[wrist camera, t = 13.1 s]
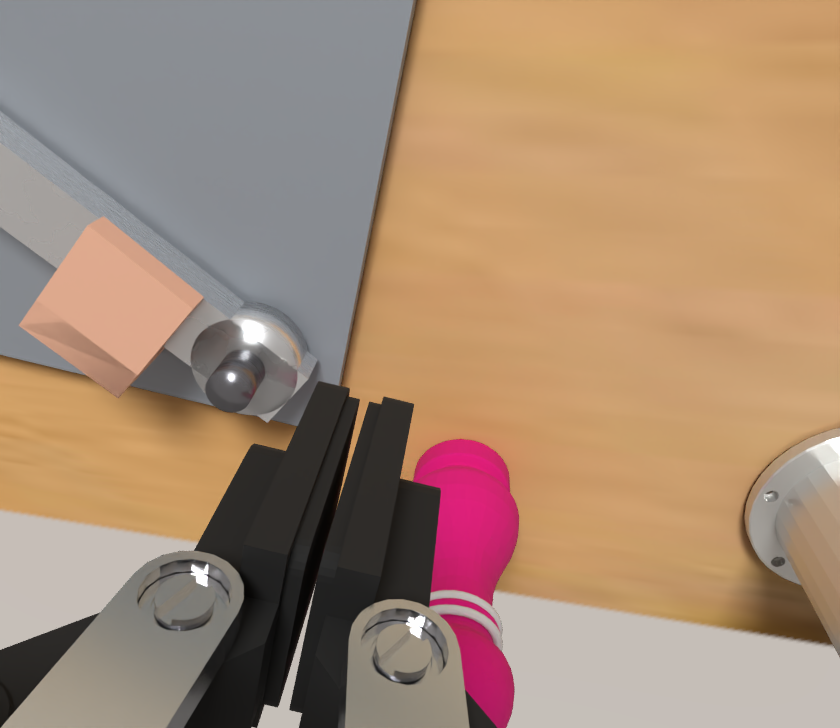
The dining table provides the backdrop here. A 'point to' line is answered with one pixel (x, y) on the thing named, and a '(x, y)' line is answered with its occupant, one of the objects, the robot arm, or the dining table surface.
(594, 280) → the dining table surface
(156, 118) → the slate board
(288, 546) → the robot arm
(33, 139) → the steel link
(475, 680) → the pepper mill
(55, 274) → the block
